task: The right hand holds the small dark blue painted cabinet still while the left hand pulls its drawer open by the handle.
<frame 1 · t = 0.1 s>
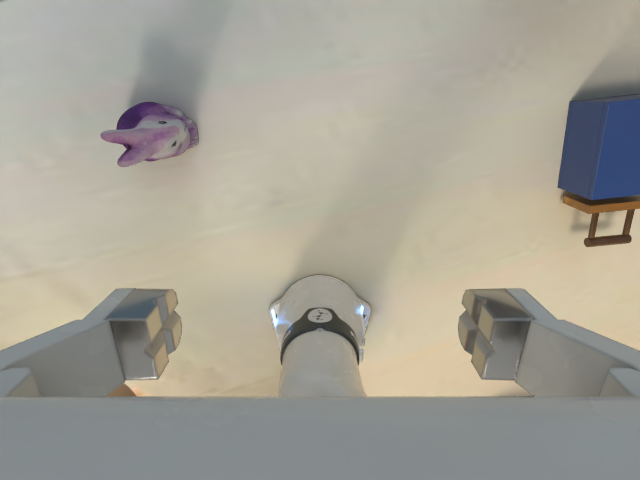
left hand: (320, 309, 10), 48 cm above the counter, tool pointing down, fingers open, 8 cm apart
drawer: (610, 186, 54), point 4 cm above the counter, slide at 1.2 cm
figurine: (169, 129, 54), on the counter
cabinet: (599, 142, 55), on the counter
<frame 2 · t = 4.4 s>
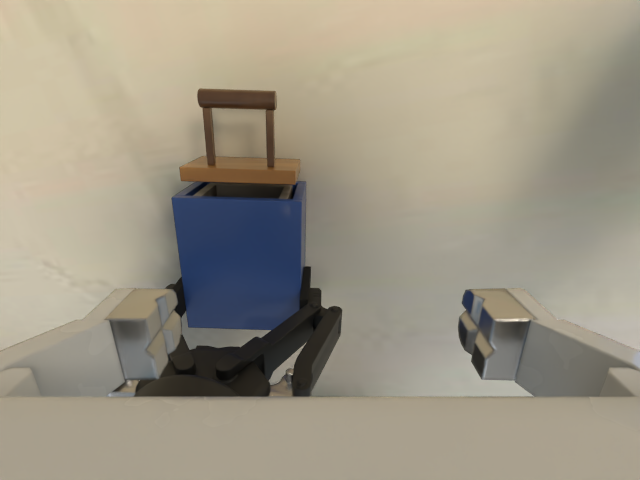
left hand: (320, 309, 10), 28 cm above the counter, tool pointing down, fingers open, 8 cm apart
right hand: (252, 276, 38), fingers closed on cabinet, 11 cm apart
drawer: (246, 193, 33), point 4 cm above the counter, slide at 1.2 cm
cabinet: (256, 238, 39), on the counter, touching right hand
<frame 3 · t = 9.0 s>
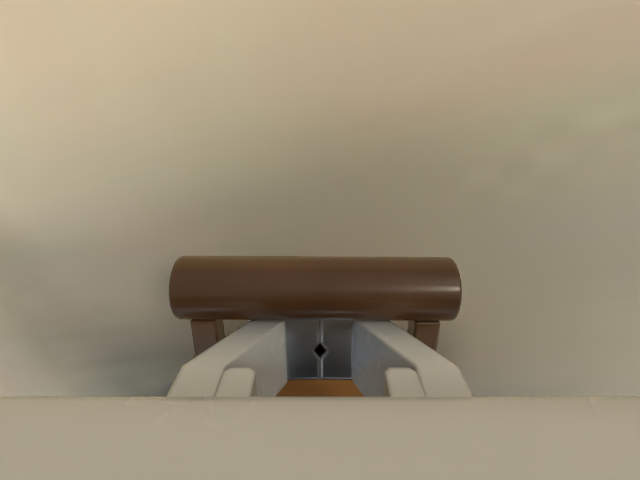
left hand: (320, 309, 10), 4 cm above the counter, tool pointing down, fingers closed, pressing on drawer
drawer: (315, 475, 13), point 4 cm above the counter, slide at 1.2 cm, touching left hand
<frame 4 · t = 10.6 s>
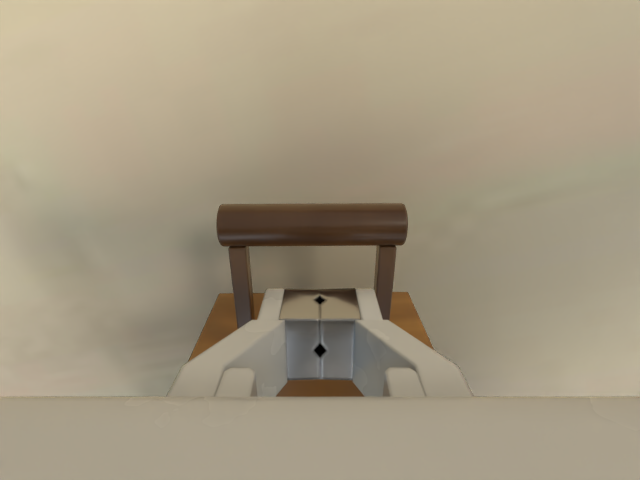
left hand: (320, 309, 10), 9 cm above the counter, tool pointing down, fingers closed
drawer: (314, 378, 17), point 4 cm above the counter, slide at 5.3 cm
when the right hand's fingers open (3 cm above the counter, at t = 12.0 s): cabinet stays where it is, on the counter.
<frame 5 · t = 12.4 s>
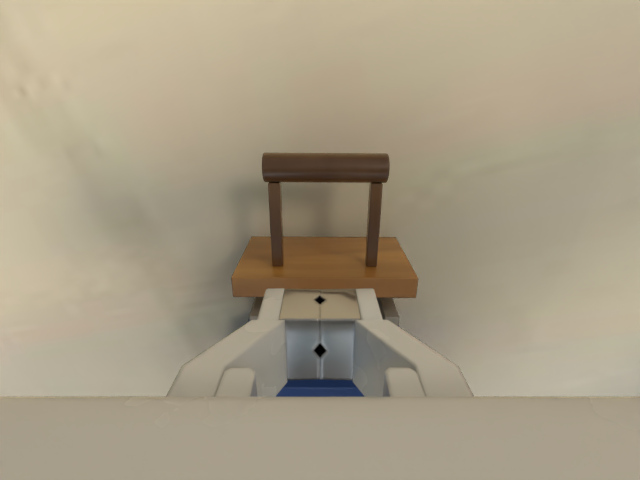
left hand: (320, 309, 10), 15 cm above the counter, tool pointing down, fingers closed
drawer: (323, 296, 22), point 4 cm above the counter, slide at 5.3 cm
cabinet: (322, 378, 30), on the counter
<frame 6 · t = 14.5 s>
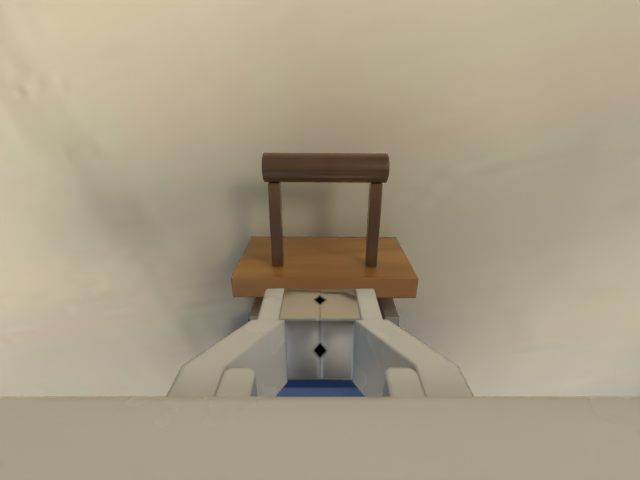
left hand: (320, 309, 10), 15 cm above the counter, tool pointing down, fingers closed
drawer: (323, 296, 22), point 4 cm above the counter, slide at 5.3 cm
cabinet: (322, 378, 30), on the counter
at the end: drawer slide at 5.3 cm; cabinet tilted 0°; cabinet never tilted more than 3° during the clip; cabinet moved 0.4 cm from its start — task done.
